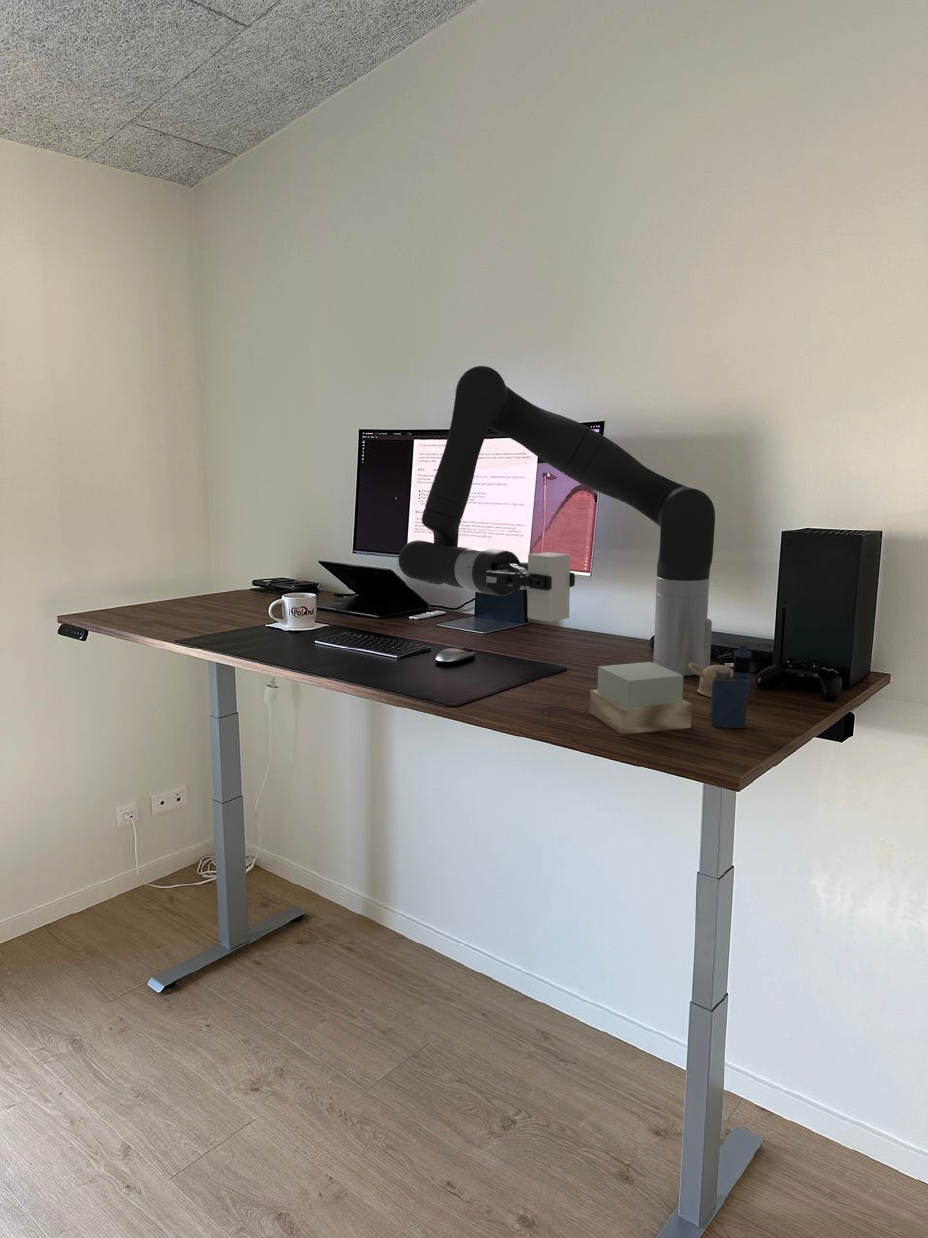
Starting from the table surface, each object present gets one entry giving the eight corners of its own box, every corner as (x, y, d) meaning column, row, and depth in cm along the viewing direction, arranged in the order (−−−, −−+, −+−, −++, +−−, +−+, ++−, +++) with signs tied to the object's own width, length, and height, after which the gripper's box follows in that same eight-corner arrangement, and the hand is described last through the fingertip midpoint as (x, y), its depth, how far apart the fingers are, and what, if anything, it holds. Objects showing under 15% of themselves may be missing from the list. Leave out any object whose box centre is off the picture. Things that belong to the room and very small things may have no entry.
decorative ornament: (740, 700, 137) (742, 668, 136) (687, 696, 139) (688, 665, 138) (739, 694, 140) (741, 662, 140) (687, 690, 143) (689, 659, 142)
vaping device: (748, 730, 122) (753, 648, 119) (710, 727, 123) (714, 646, 120) (746, 724, 124) (751, 644, 122) (709, 722, 125) (713, 642, 123)
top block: (649, 687, 131) (650, 661, 131) (682, 702, 123) (683, 675, 122) (597, 692, 128) (598, 666, 128) (627, 708, 120) (628, 680, 119)
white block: (547, 614, 136) (548, 552, 134) (569, 618, 133) (570, 554, 131) (527, 617, 133) (528, 554, 132) (548, 621, 130) (549, 556, 128)
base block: (654, 709, 133) (655, 685, 132) (690, 730, 123) (692, 704, 122) (589, 715, 130) (590, 690, 130) (621, 737, 120) (622, 710, 119)
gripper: (454, 551, 137) (529, 561, 125) (518, 545, 147) (593, 553, 134) (454, 597, 139) (528, 611, 126) (517, 588, 148) (592, 600, 135)
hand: (561, 581), depth 130 cm, fingers closed on white block, 4 cm apart
